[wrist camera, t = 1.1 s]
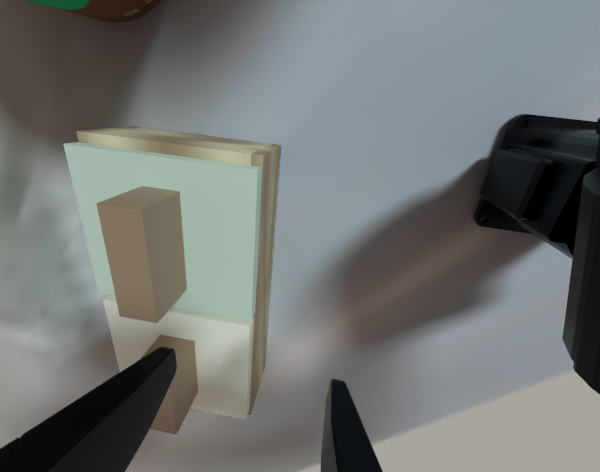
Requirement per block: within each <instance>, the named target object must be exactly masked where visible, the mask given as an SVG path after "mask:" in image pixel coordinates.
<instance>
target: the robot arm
mask: <svg viewBox="0 0 600 472" xmlns="http://www.w3.org/2000/svg"><path fill="white" fill-rule="evenodd" d="M522 120H524V122H525V123H524V126H523V127H522V128H520V129H519V127H518V124H519V122H520V121H522ZM480 195H481V199H480V201H479V204H478V207H477V209H476V212H475V214H474V218H473V219H474V221H475V222H476V223H477V224H478V225H479V226H482V227H489V228H496V229H503V230H510V231H517V232H524V233H531V234H534V235H536V236H537V237H539V238H541V239H542V240H544V241H545V242H547V243H548V244H550V245H551V246H553V247H555V248H556V249H558V250H559V251H561V252H562V253H564V254H565V255H567V256H568V257H570V258H572V259H573V261H572V269H571V277H570V285H569V292H568V300H567V308H566V316H565V324H564V331H563V341H564V343H565V346H566V348H567V350H568V352H569V355H570V357H571V359H572V360H573V361H574V366H573V368H574V370H575V372H576V373H577V374H578V375H579V376H580V377H581V378H582V379H583V380H584V381H585V382H586V383H587V384H588V385H589V386H590V387H591V388H592V389H593V390H595V391H597V393H599V394H600V118H598V122H591V121H582V120H573V119H564V118H555V117H546V116H537V115H528V114H522V115H518V116H515V117H514V118H513V119H512V120H511V122H510V124H509V127H508V129H507V132H506V134H505V137H504V140H503V142H502V145H501V147H500V150H498V151H497V152H496V153H495V154H494V157H493V160H492V162H491V165H490V167H489V170H488V173H487V175H486V178H485V180H484V183H483V186H482V188H481V191H480ZM484 215H487V216H486V219H485V220H483V221H480V220H481V217H482V216H484ZM176 370H177V362H176V352H175V349H174V348H171V347H166V346H161V347H159V348H157V349H156V350H154V351H152V352H151V353H149V354H148V355H146V356H145V357H143V358H141V359H140V360H138V361H137V362H135V363H134V364H132V365H131V366H129V367H127V368H126V369H124V370H123V371H121V372H120V373H118V374H117V375H115V376H113V377H112V378H110V379H109V380H107V381H106V382H104V383H102V384H101V385H99V386H98V387H96V388H95V389H93V390H92V391H90V392H88V393H87V394H85V395H84V396H82V397H81V398H79V399H77V400H76V401H74V402H73V403H71V404H70V405H68V406H67V407H65V408H63V409H62V410H60V411H59V412H57V413H56V414H54V415H52V416H51V417H49V418H48V419H46V420H45V421H43V422H42V423H40V424H38V425H37V426H35V427H34V428H32V429H31V430H29V431H27V432H26V433H24V434H23V435H22V436H21V438H16V439H15V440H13V441H12V442H10V443H9V444H7V445H5V446H4V447H2V448H1V449H0V472H125V471H126V469H127V467H128V465H129V464H130V462H131V460H132V459H133V457H134V455H135V453H136V452H137V450H138V448H139V446H140V445H141V443H142V441H143V440H144V438H145V436H146V434H147V433H148V431H149V429H150V427H151V425H152V423H153V421H154V419H155V417H156V415H157V413H158V411H159V408H160V406H161V404H162V402H163V400H164V398H165V395H166V393H167V391H168V389H169V387H170V385H171V382H172V380H173V378H174V376H175V374H176ZM321 472H383V471H382V469H381V467H380V464H379V462H378V460H377V457H376V455H375V452H374V450H373V448H372V445H371V443H370V440H369V438H368V436H367V433H366V431H365V428H364V426H363V424H362V421H361V419H360V417H359V414H358V412H357V409H356V407H355V405H354V402H353V400H352V397H351V395H350V393H349V390H348V388H347V386H346V383H345V382H344V381H341V380H336V379H332V380H331V381H330V385H329V390H328V394H327V399H326V408H325V419H324V430H323V442H322V453H321Z"/></svg>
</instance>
